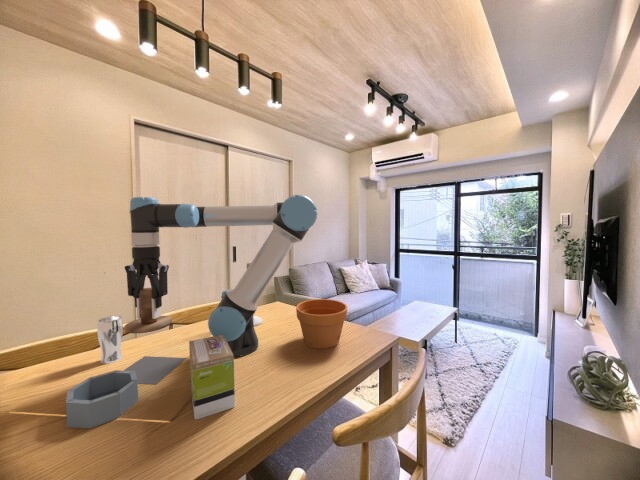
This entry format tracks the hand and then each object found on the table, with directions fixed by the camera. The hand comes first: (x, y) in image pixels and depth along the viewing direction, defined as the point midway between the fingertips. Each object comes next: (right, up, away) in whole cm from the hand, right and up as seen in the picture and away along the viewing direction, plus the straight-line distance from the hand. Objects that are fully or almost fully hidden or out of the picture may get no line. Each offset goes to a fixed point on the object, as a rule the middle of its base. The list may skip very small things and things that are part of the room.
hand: (148, 317), depth 87 cm
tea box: (+26, -19, -13) cm, 35 cm away
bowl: (-1, -19, -17) cm, 25 cm away
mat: (0, -18, +1) cm, 18 cm away
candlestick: (+21, -16, +44) cm, 52 cm away
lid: (0, -3, 0) cm, 3 cm away
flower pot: (+57, -17, +24) cm, 64 cm away
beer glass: (-18, -18, +7) cm, 26 cm away
